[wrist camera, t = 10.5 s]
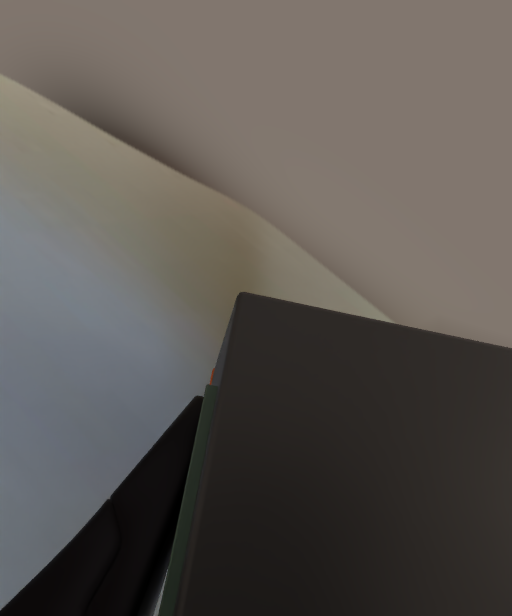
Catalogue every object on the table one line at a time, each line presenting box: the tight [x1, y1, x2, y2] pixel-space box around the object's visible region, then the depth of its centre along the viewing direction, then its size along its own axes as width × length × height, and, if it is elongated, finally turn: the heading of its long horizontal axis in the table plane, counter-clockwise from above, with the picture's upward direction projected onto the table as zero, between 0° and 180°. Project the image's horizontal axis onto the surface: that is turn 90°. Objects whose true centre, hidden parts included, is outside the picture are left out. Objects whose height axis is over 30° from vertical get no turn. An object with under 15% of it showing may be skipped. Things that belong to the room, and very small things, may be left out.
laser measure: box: [158, 292, 512, 616], centre depth 9 cm, size 4×6×12 cm
